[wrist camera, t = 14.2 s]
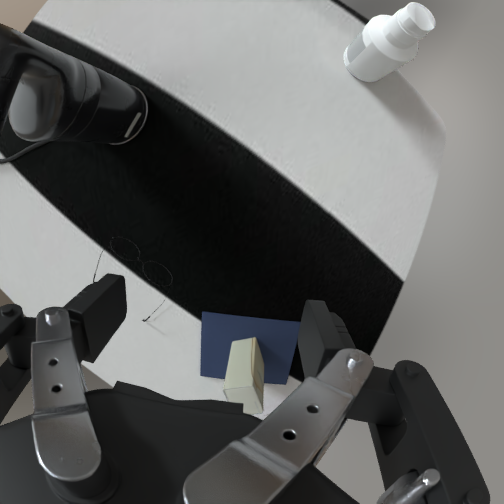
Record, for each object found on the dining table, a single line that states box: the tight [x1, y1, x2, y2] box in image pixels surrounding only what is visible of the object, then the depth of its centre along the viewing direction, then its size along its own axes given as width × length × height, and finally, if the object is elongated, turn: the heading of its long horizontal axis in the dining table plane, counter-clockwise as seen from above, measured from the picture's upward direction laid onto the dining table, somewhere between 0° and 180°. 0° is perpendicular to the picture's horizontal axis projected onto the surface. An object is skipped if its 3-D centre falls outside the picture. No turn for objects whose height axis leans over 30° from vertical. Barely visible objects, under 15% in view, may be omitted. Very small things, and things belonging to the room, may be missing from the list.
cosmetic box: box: [223, 337, 264, 415], centre depth 42 cm, size 6×4×12 cm
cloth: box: [201, 311, 301, 385], centre depth 48 cm, size 16×14×1 cm
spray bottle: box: [344, 2, 436, 82], centre depth 25 cm, size 7×7×18 cm
